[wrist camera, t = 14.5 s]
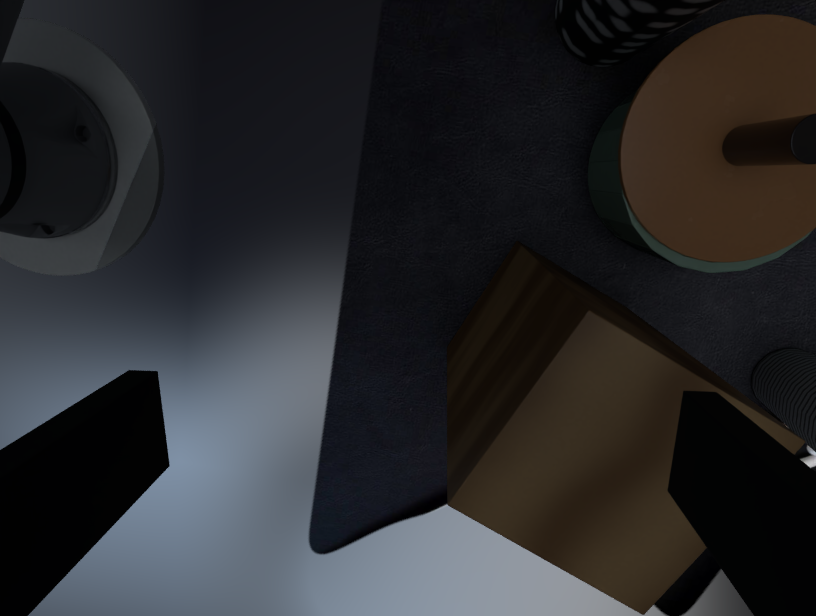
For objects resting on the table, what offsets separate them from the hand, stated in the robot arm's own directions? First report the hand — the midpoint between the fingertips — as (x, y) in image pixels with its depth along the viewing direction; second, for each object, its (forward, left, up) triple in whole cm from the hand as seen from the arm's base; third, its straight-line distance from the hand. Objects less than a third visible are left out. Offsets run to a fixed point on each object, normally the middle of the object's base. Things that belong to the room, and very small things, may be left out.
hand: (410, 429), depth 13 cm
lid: (+13, +17, -26) cm, 34 cm away
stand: (+12, -2, -35) cm, 37 cm away
